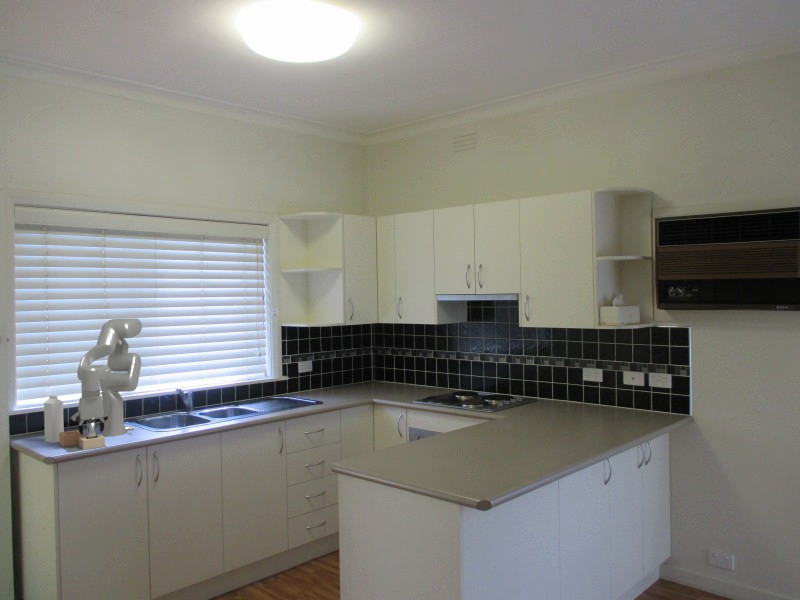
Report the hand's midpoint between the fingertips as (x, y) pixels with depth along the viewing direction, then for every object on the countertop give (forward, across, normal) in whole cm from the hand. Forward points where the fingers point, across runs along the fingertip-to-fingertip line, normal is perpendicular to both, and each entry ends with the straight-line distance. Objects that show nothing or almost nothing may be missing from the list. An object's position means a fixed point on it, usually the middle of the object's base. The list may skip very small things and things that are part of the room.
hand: (91, 432), depth 301 cm
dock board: (+8, +3, -6) cm, 10 cm away
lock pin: (+6, 0, 0) cm, 6 cm away
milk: (+8, +10, -29) cm, 32 cm away
